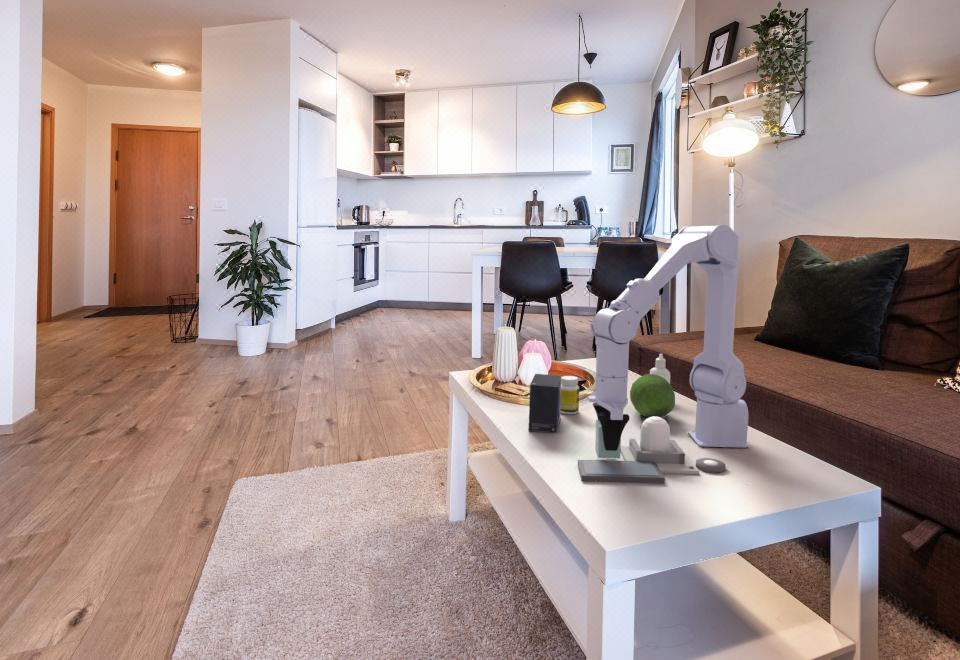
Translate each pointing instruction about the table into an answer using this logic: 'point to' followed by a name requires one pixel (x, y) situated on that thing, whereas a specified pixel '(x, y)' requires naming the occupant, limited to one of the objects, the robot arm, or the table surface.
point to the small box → (545, 403)
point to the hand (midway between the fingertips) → (609, 445)
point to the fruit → (652, 396)
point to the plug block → (600, 444)
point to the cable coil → (710, 465)
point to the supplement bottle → (569, 395)
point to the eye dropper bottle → (661, 368)
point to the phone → (620, 471)
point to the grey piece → (661, 458)
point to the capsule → (655, 435)
